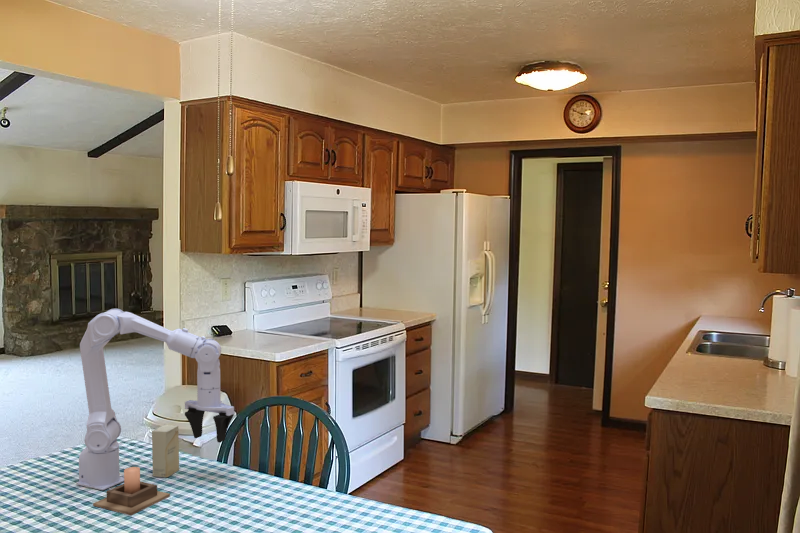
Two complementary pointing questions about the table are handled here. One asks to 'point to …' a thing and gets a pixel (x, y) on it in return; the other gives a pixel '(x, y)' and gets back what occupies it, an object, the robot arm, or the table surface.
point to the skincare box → (165, 450)
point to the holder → (131, 499)
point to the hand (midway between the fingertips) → (209, 439)
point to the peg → (131, 480)
